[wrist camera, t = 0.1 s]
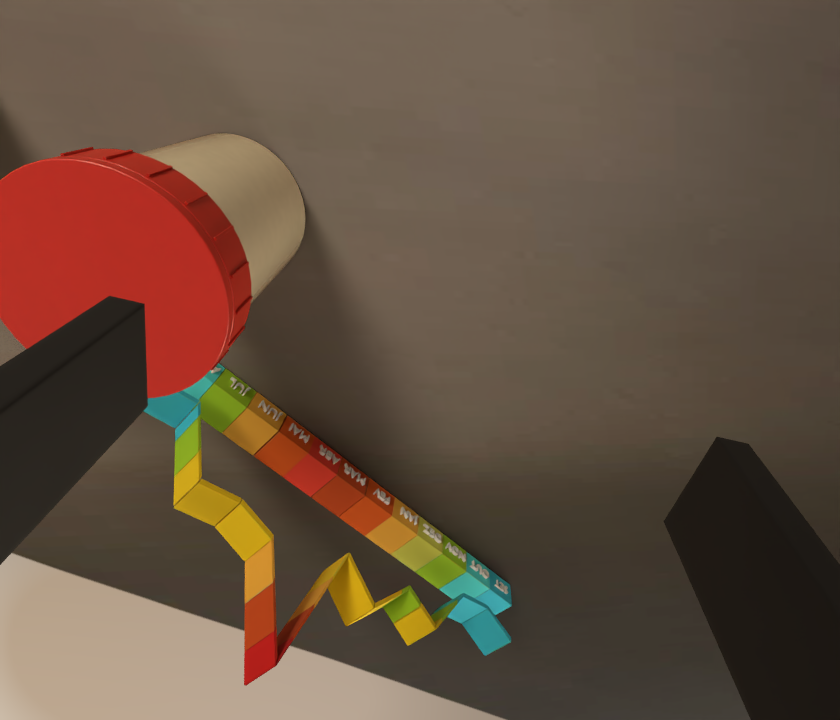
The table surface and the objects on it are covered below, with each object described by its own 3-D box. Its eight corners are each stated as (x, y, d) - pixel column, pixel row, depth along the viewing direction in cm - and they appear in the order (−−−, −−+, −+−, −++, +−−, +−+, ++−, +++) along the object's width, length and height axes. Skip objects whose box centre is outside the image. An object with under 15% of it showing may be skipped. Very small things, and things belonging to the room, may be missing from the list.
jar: (240, 100, 27) (100, 121, 17) (334, 232, 30) (265, 320, 20) (135, 186, 30) (-43, 251, 19) (231, 300, 33) (121, 410, 22)
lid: (131, 92, 18) (87, 96, 16) (299, 306, 21) (281, 332, 19) (-25, 233, 21) (-79, 251, 19) (145, 402, 24) (115, 433, 22)
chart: (512, 583, 43) (533, 809, 30) (483, 600, 44) (490, 825, 31) (195, 341, 34) (29, 510, 21) (170, 370, 36) (-2, 548, 22)
